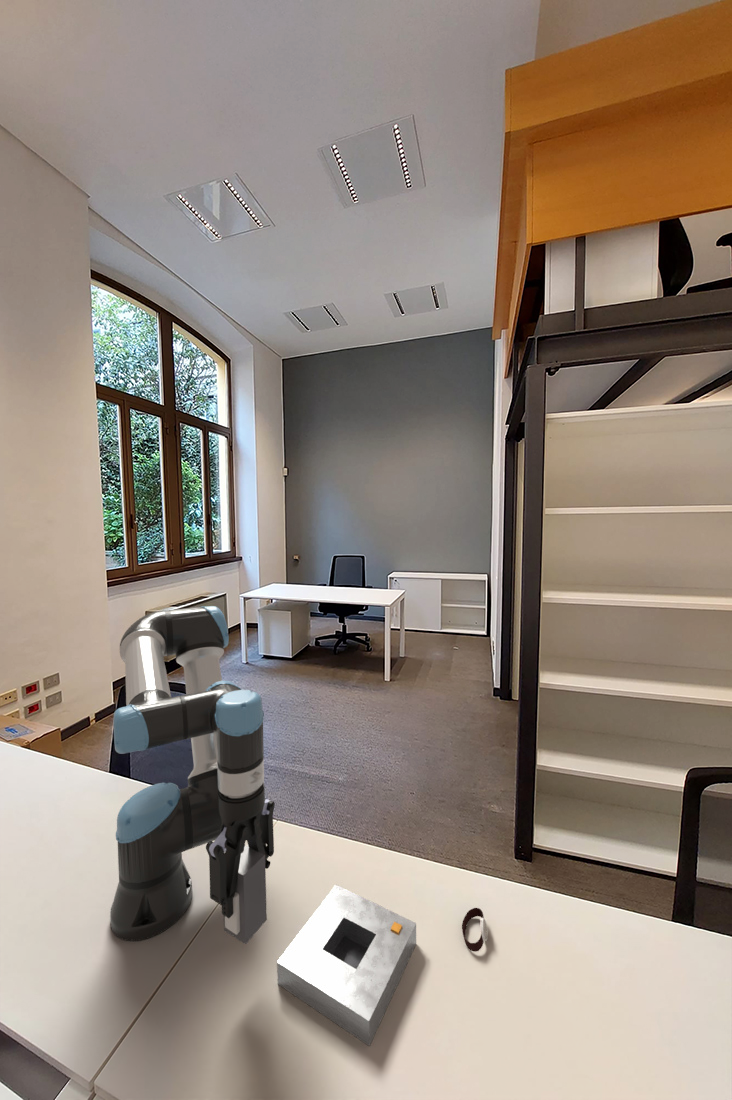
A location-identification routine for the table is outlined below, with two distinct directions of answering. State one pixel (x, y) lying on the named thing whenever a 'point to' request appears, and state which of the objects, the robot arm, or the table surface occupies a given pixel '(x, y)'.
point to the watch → (483, 927)
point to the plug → (250, 894)
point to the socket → (348, 961)
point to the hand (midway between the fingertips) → (245, 915)
